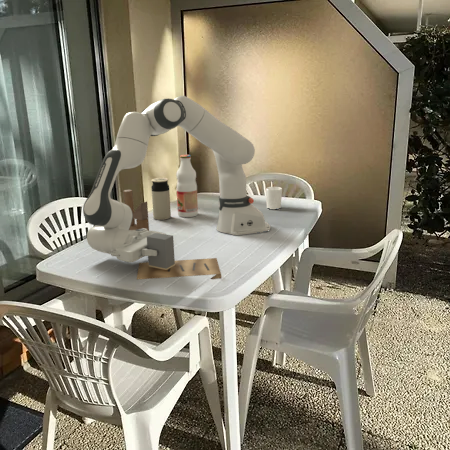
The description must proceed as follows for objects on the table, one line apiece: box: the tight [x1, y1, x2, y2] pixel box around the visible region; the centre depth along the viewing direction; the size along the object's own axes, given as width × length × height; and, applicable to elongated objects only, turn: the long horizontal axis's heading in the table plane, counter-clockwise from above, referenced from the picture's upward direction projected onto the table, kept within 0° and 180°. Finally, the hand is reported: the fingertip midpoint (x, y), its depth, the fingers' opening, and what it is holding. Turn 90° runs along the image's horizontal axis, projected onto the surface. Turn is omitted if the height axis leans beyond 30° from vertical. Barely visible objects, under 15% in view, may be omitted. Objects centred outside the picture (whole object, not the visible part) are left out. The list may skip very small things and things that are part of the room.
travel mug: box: [150, 177, 172, 221], centre depth 210 cm, size 8×8×18 cm
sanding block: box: [147, 233, 176, 270], centre depth 147 cm, size 7×4×10 cm, turn 62°
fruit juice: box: [175, 154, 199, 218], centre depth 213 cm, size 9×9×28 cm
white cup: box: [265, 186, 283, 209], centre depth 224 cm, size 8×8×10 cm
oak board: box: [136, 257, 222, 280], centre depth 149 cm, size 26×14×2 cm, turn 97°
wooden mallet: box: [123, 189, 150, 231], centre depth 187 cm, size 4×11×18 cm, turn 56°
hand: (163, 250), depth 146 cm, fingers closed on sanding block, 4 cm apart
